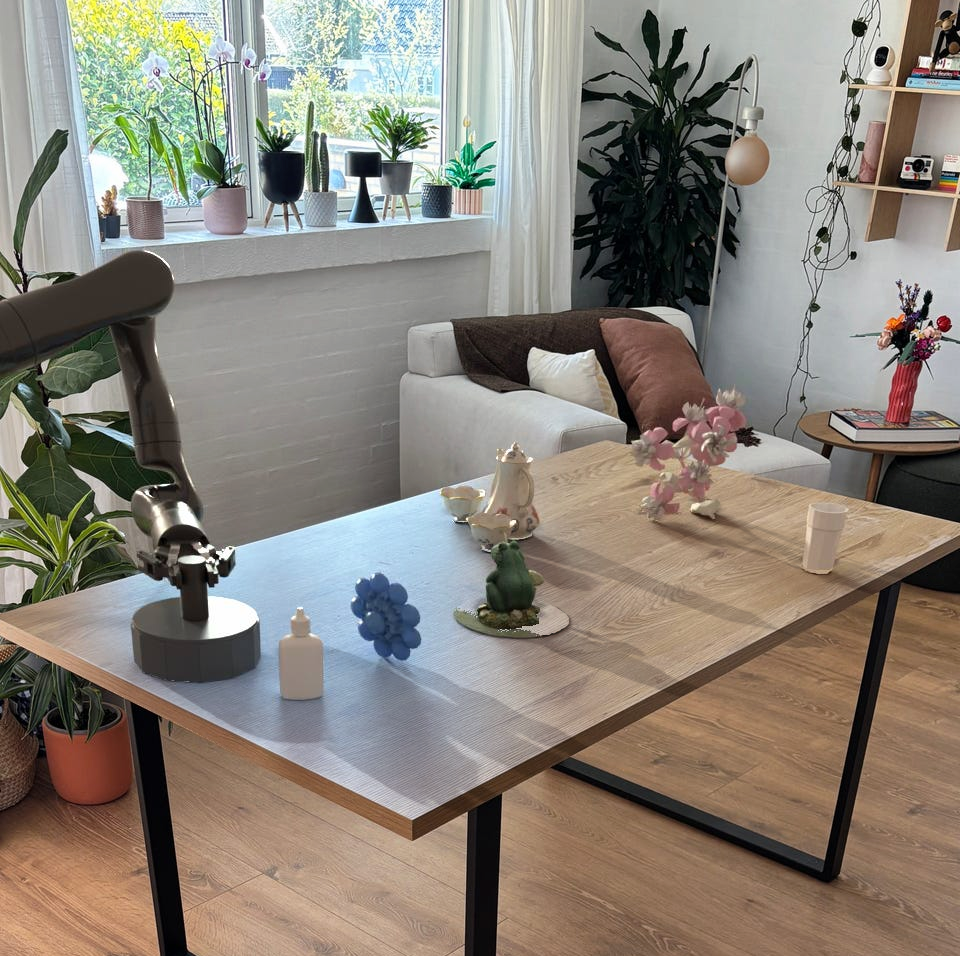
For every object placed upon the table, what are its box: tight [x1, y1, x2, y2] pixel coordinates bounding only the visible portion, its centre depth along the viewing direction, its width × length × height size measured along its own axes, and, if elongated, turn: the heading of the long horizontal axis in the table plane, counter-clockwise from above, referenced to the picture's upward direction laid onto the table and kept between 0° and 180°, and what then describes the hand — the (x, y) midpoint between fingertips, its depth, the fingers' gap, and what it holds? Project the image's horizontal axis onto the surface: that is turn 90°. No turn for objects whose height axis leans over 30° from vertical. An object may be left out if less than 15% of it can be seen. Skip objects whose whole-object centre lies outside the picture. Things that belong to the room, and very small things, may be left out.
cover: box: [130, 555, 262, 684], centre depth 176 cm, size 17×17×14 cm
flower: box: [628, 381, 747, 521], centre depth 247 cm, size 20×22×25 cm
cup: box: [801, 501, 849, 570], centre depth 225 cm, size 7×7×11 cm
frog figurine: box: [453, 540, 545, 639], centre depth 196 cm, size 18×18×12 cm
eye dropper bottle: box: [278, 606, 325, 701], centre depth 167 cm, size 4×6×12 cm
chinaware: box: [439, 441, 540, 550], centre depth 231 cm, size 28×17×17 cm, turn 23°
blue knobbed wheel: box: [350, 572, 422, 662], centre depth 179 cm, size 12×7×12 cm, turn 58°
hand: (195, 581), depth 171 cm, fingers closed on cover, 3 cm apart
